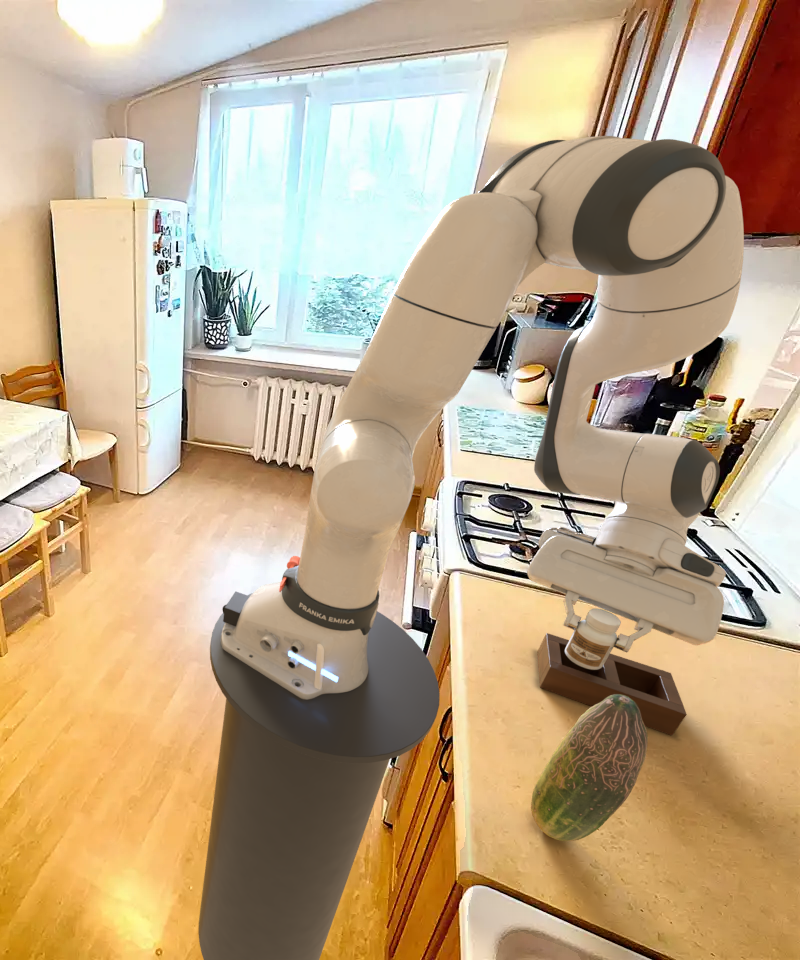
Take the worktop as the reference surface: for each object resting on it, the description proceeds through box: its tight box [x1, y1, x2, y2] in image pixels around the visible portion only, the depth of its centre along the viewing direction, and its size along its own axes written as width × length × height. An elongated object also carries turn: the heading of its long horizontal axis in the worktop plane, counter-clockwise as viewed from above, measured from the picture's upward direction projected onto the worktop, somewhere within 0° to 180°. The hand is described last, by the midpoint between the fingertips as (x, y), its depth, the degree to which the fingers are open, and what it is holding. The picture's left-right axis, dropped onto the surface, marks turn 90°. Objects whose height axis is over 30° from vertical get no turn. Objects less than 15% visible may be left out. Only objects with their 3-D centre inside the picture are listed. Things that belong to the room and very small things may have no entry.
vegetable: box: [530, 694, 649, 842], centre depth 52 cm, size 6×6×20 cm
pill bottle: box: [565, 607, 622, 670], centre depth 71 cm, size 4×4×8 cm
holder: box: [536, 632, 687, 736], centre depth 73 cm, size 8×14×4 cm, turn 59°
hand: (594, 638), depth 71 cm, fingers closed on pill bottle, 4 cm apart
